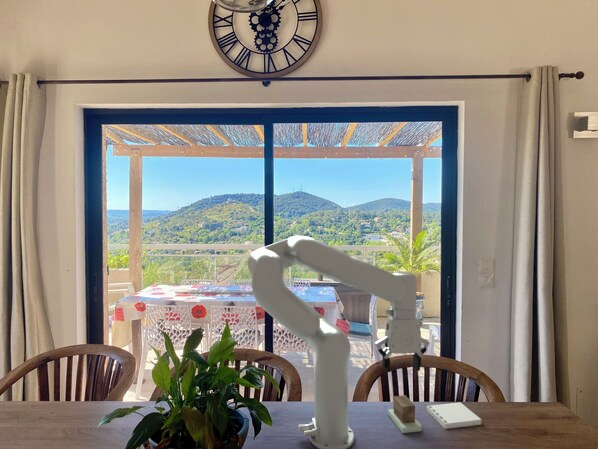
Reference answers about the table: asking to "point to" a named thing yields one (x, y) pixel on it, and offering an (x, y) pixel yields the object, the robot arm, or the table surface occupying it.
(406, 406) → the stub
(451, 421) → the white flat slab
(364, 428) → the table surface
